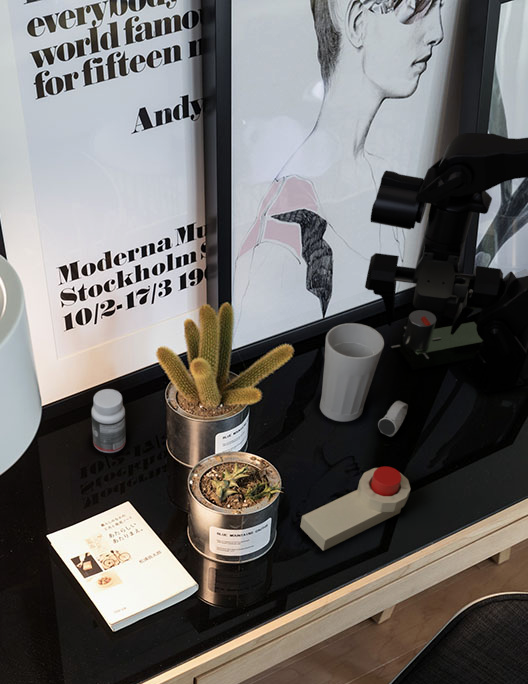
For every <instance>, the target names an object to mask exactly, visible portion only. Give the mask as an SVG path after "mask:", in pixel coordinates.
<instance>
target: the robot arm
mask: <svg viewBox="0 0 528 684" xmlns="http://www.w3.org/2000/svg"><path fill="white" fill-rule="evenodd" d="M526 178H528V137H519V138H512V137H511V138H509V137H506V136H502V135H499V134H495V133H490V132H489V133H487V132H486V133H485V132H465V133H461V134H459V135H457V136H455V137H454V138H453V139H452V140H451V141H450V142H449V143H448V145H447V147H446V148H445V151H444V154H443V155H442V157H440V158H439V159H438V160H437V161H436V162H435V163H433V164H432V165H431V166H430V167H428V169H427V171H426V173H425V175H424V178H423V177H417V176H412V175H408V174H407V175H405V174H402V173H398V172H396V171H392V170H385V171H383V174H382V176H381V178H380V182H379V183H380V184H379V187H378V190H377V193H376V197H375V200H374V202H373V204H372V207H371V212H370V223H373V224H378V225H384V226H388V227H394V228H399V229H405V230H412V229H415V227H416V224H422V221H423V218H424V215H425V212H426V208H427V205H428V204H430V206H429V211H428V214H427V219H426V222H425V227H424V231H423V235H422V239H421V242H420V243H421V244H420V247H419V252H418V256H417V260H416V264H415V267H408V266H401V265H398V263H399V257H400V255H394V254H387V253H378V252H375V253H374V254H372V255H371V256H370V260H369V265H368V270H367V274H366V280H365V284H364V288H365V289H366V290H367V291H372V293H373V295H375V296H380V297H381V298H382V301H383V304H384V309H385V314H386V320H387V326H388V327H391V326H392V323H393V318H394V313H395V312H394V311H395V303H396V289H397V282H401V283H408V284H415V289H414V293H413V299H412V305H413V307H414V308H415V309H418V310H430V311H435V312H438V313H443V312H445V311H447V309H448V308H449V305H450V306H451V305H452V306H458V308H457V311H456V313H455V316H454V318H453V321H452V324H451V326H452V328H451V335H453V334H454V333H455V332H456V330H457V329H458V328H459V327H460V325H461V324H464V322H465V320H466V319H467V318H468V317H469V316H470V315H471V314H472V313H473V312H474V311H476V310H480V312H479V315H478V319H477V322H476V325H477V329H476V330H477V333H478V335H479V337H480V338H481V339H482V340H483V341H482V343H481V346H480V349H479V351H477V352H476V354H475V357H474V358H473V360H472V363H470V364H467V365H466V367H465V370H466V371H467V372H468V374H469V375H470V376H471V378H472V379H473V380H474V382H475V383H476V384H477V385H478V387H479V388H480V390H481V391H482V392H483V394H493V393H498V392H502V391H507V390H513V389H518V388H522V387H523V386H524V385H525V382H524V381H523V379H522V378H521V377H520V375H521V373H522V370H523V368H524V365H525V362H526V359H527V357H528V275H524V276H521V277H517V276H516V275H515V274H514V272H513V271H509V272H508V273H507V274H506V275H505V276H504V273H503V271H502V269H501V268H497V267H488V266H481V265H476V266H475V267H474V270H473V273H472V274H467V273H465V274H464V273H461V272H460V262H461V258H462V254H463V251H464V247H465V243H466V241H467V236H468V234H469V229H470V226H471V223H472V220H473V215H474V213H477V214H483V215H486V214H488V213H489V209H490V206H491V203H492V200H493V197H492V196H491V195H490V193H488V192H487V191H488V190H491V189H493V188H494V187H497V186H499V185H501V184H503V183H505V182H509V181H512V180H516V179H526ZM458 303H459V305H458Z"/></svg>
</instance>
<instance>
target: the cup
mask: <svg viewBox="0 0 528 684" xmlns="http://www.w3.org/2000/svg"><path fill="white" fill-rule="evenodd" d="M324 346H325V347H324V365H323V375H322V385H321V386H322V388H321V396H320V403H319V409H320V411H321V413H322V414H323V415H324V416H325V417H327V418H328V419H331V420H332V421H336V422H351V421H355V420H356V419H358V418H360V416H361V415H362V414H363V411H364V407H365V403H366V400H367V397H368V393H369V391H370V387H371V385H372V381H373V378H374V375H375V373H376V369H377V366H378V364H379V361H380V358H381V355H382V353H383V351H384V346H385V340H384V338H383V335H382V334H381V333H380V332H379V331H377V330H376V329H375V328H373V327H371V326H370V325H369V326H368V325H365V324H363V323H355V322H348V323H342V324H338V325H336V326H333V327H332V328H331V329H330V330H329V331H328V332H327V333H326V335H325V344H324Z"/></svg>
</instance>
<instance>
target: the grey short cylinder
mask: <svg viewBox="0 0 528 684" xmlns="http://www.w3.org/2000/svg"><path fill="white" fill-rule="evenodd" d="M408 408H409V404H407V403H405V402H403V401H401V400H396V401H394V403H392V405H390V407H389V409H388V410H387V412H386V414H385V415H384V416H383V418H381V419H379V420H378V423H377V426H378V429H379V431H380V433H381V434H383V435H385V436H386V437H387V436H388V437H390V438H392V437H394V436H395V435H396V434H397V432H398V431H399V429H400V427H401V426H402V424H403V422H404V420H405V418H406V415H407V413H408Z"/></svg>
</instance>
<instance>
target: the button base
mask: <svg viewBox="0 0 528 684" xmlns="http://www.w3.org/2000/svg"><path fill="white" fill-rule="evenodd" d="M378 468H379V467H374V468H371V469H369V470H367V471H365V472H363V474H362V476H361V477H360V479H359V482H358V486H357V489H356V490H354V491H351V492H349V493H347V494H345V495H343V496H340V497H339V498H337V499H335V500H333V501H330V502H328V503H326V504H325V505H322V506H320V507H318V508H315V509H314V510H312V511H310V512H308V513H305V514H303V515H302V516H301V519H300V521H301V522H300V526H299V527H300V528H301V530H302V531H303V532H304V533H305V534H306V535H308V537H309V538H310V539H311V540H312V541H313V542H314V543H315V544H316V545H317V546H318V547H319V548H320V549H321V550H322V551H323V552H324V551H327V550H328V549H330V548H333V547H334V546H336V545H338V544H340V543H342V542H344V541H346V540H348V539H350V538H352V537H354V536H356V535H358V534H360V533H362V532H365V531H366V530H368V529H370V528H372V527H374V526H376V525H378V524H380V523H382V522H384V521H386V520H388V519H391V518H393V517H395V516H396V515H399V514H400V513H401V511H402V508H404V507H405V505H406V503H407V501H408V499H409V496H410V492H411V485H410V482H409V479H408V478H407V477H406V476H405V475H404V474H402V473H401V472H400V471H398V472H399V473H400V474H401V482H400V485H399V489H398V491H397V493H396V494H394V495H392V496H381V495H378V494H376V493H375V492H374V491H373V490H372V488H371V482H372V478H373V474H374V471H375V470H376V469H378Z"/></svg>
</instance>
